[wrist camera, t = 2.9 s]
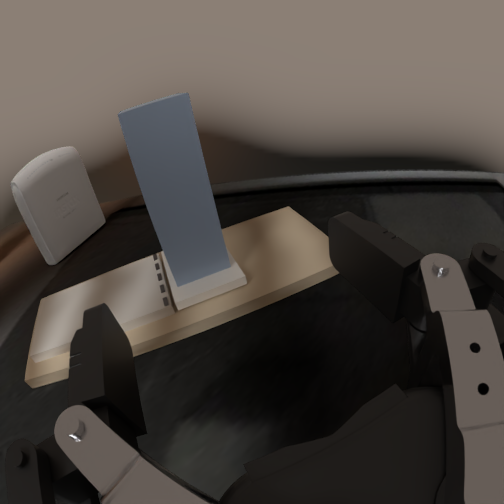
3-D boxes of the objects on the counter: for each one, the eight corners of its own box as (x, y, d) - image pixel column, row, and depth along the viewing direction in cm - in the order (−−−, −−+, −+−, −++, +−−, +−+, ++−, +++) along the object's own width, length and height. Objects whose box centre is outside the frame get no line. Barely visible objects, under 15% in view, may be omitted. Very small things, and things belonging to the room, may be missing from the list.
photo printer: (55, 269, 30) (10, 174, 23) (42, 263, 31) (1, 177, 25) (111, 222, 37) (80, 135, 30) (94, 220, 39) (64, 141, 32)
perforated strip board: (32, 388, 16) (17, 373, 15) (46, 306, 24) (36, 292, 23) (352, 267, 22) (352, 246, 21) (289, 215, 30) (287, 198, 29)
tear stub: (178, 310, 20) (106, 119, 12) (163, 258, 25) (114, 113, 18) (247, 283, 21) (203, 90, 13) (217, 238, 26) (180, 91, 19)
